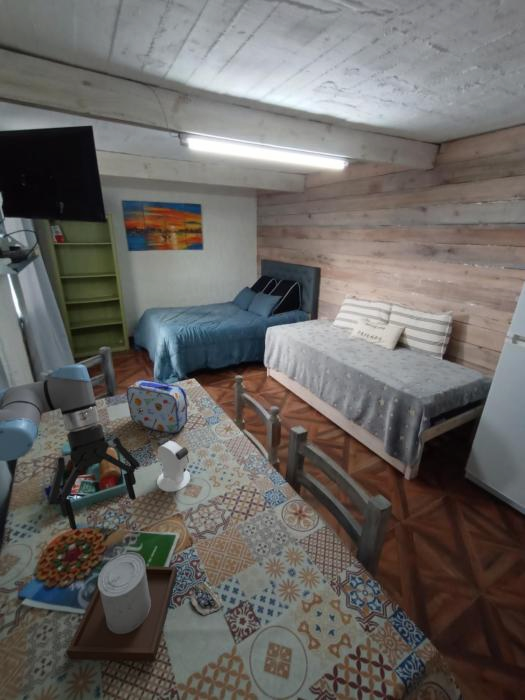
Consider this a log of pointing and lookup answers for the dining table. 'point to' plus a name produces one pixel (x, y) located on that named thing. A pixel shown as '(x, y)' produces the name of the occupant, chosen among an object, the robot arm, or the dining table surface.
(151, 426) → the lunch box
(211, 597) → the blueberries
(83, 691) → the dining table surface
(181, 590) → the dining table surface
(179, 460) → the white upright piece
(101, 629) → the tray
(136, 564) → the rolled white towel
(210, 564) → the dining table surface
